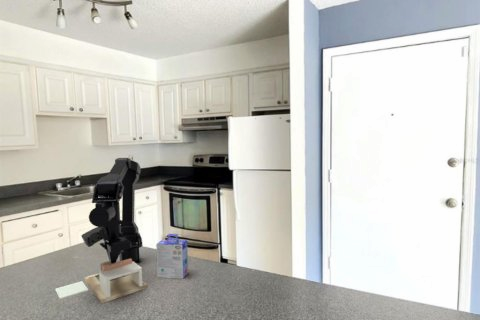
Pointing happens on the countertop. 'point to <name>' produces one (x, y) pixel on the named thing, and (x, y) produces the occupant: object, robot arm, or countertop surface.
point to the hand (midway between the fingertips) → (112, 264)
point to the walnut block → (106, 264)
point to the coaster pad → (71, 290)
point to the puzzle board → (113, 287)
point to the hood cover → (119, 274)
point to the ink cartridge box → (172, 258)
